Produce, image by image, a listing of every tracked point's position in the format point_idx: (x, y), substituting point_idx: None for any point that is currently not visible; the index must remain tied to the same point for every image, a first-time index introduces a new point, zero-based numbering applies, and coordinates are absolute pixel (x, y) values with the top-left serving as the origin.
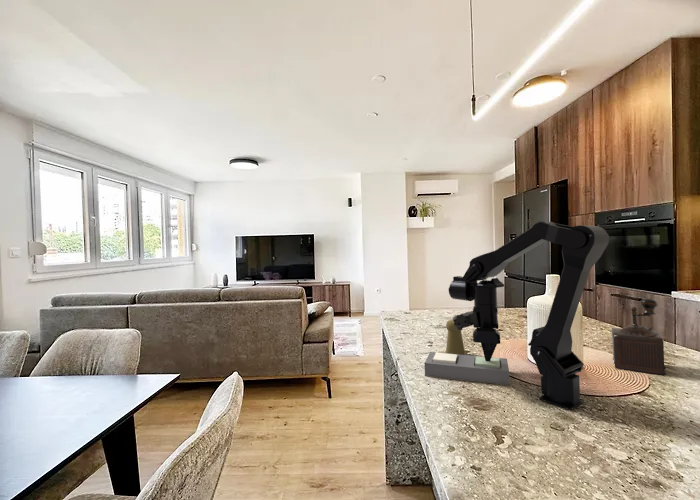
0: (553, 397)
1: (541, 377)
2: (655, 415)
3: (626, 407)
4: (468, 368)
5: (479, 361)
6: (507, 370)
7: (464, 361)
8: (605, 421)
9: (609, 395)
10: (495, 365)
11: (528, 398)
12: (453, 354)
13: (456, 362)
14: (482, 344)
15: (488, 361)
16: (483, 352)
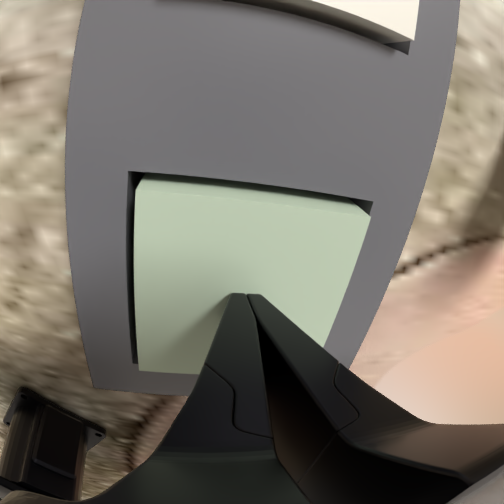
0: (12, 420)
1: (31, 456)
2: (85, 492)
3: (96, 483)
4: (69, 115)
5: (206, 237)
6: (103, 383)
7: (252, 78)
8: (4, 441)
9: None
10: (138, 346)
11: (13, 360)
12: (410, 4)
13: (282, 8)
14: (168, 442)
15: (223, 311)
16: (212, 342)
